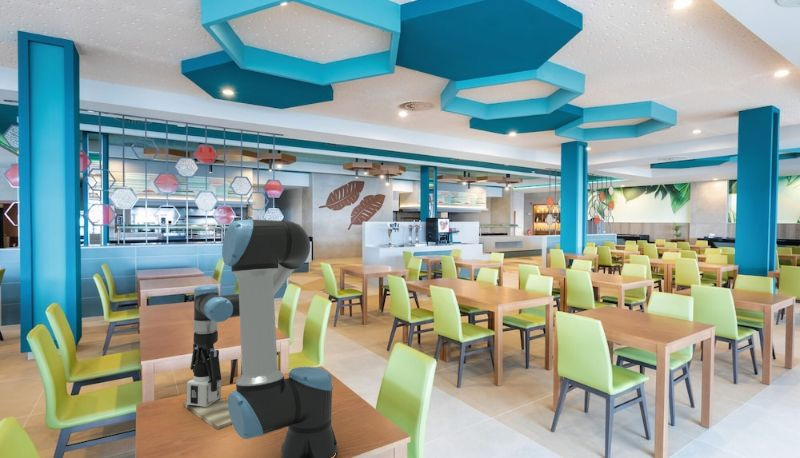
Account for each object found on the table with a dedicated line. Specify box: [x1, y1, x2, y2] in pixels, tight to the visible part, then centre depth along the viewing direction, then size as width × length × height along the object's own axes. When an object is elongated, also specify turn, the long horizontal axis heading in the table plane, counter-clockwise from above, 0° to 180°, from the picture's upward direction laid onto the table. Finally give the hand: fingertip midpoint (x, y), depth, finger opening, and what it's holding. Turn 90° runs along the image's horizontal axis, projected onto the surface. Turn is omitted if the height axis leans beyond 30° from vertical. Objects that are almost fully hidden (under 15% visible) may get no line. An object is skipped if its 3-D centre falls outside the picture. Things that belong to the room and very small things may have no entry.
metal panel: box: [182, 397, 233, 431], centre depth 137 cm, size 24×10×1 cm, turn 50°
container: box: [186, 362, 222, 407], centre depth 141 cm, size 8×8×13 cm
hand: (205, 395), depth 142 cm, fingers closed on container, 10 cm apart
